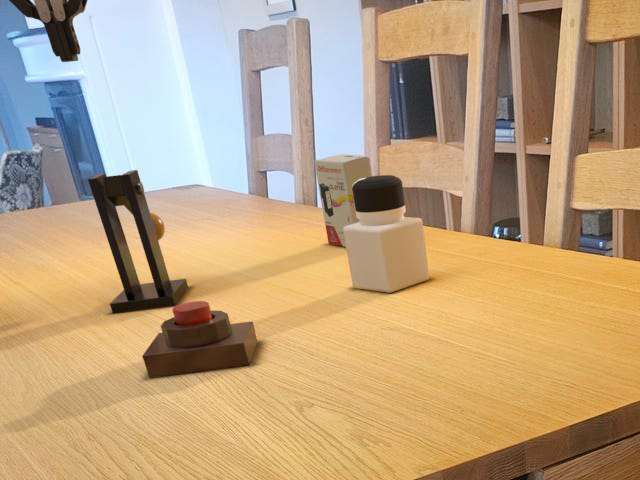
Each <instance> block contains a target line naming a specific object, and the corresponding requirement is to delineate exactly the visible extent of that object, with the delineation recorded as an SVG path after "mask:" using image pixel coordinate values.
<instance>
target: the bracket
mask: <svg viewBox="0 0 640 480" xmlns="http://www.w3.org/2000/svg"><path fill="white" fill-rule="evenodd" d="M120 175H121V177H122V180H123V183H124V187H125V190H126V193H127V196H128V200H129V203H130V206H131V209H132V213H133V215H132V216H133V219H134V222H135V225H136V229H137V232H138V235H139V239H140V241H141V245H142V249H143V252H144V255H145V258H146V262H147V265H148V267H149V272H150V274H151V277H152V281H153V282H146V283H140V280H139V276H138V273H137V270H136V267H135V264H134V261H133V258H132V254H131V250H130V248H129V245H128V241H127V238H126V235H125V231H124V229H123V226H122V223H121V219H120V216H119V213H118V211H117V206H115V205H114V204H113V203H112V202H111V201H110V200H109V199H108V198H107V196H106V191H105V185H104V180H103V177H107V176H106V173H100V174H95V175H94V176H91V177H90V178H88V179H87V181H88V185H89V187H90V190H91V194H92V198H93V199H94V202H95V206H96V208H97V211H98V215H99V218H100V221H101V224H102V227H103V230H104V233H105V236H106V239H107V243H108V245H109V249H110V251H111V254H112V257H113V261H114V263H115V266H116V270H117V273H118V275H119V279H120V282H121V284H122V288H123V290H122V291H121V292H120V293H118V295H117V296H116V297H115V298H114V299H113V300H111V302H110V303H109V306H110V309H111V312H112V314H118V313H119V314H120V313H126V312H135V311H136V312H137V311H143V310H151V309H160V308H168V307H175V306H177V304H178V302H179V301H180V300H181V298H182V297H183V295H185V293H186V292H187V290H188V288H189V284H188V281H187V278H178V279H171V280H170V276H169V273H168V269H167V266H166V263H165V259H164V256H163V253H162V249H161V245H160V243H159V240H158V239H157V235H156V232H155V228H154V225H153V222H152V218H151V215H150V213H151V212H150V209H149V205H148V201H147V198H146V195H145V188H144V185H143V183H142V181H141V177H140V175H139V172H138V170H137V169H133V170H128V171H126V172H125V173H122V174H120Z"/></svg>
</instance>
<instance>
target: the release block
mask: <svg viewBox="0 0 640 480" xmlns="http://www.w3.org/2000/svg"><path fill="white" fill-rule="evenodd" d="M210 310H211V309H210ZM211 314H212V317H213V319H212V320H210V321H208V322H205V323H201V324H196V325H189V326H177V324H176V321H175V317H174V316H173V317H170V318H168V319H166V320H164V321H163V322H162V323H161V325H160V330H161V332H158V333H157V335H155V337H154V339H153V340H152V342H151V343H150V344H149V346H148V347H147V348H146V350H145V351H144V353H142V355H141V356H142V360H143V362H144V366H145V369H146V372H147V375H148V378H150V379H151V378H157V377H165V376H173V375H181V374H191V373H196V372H204V371H213V370H220V369H228V368H236V367H243V366H249V365H250V364H251V361H252V359H253V356H254V353H255V350H256V347H257V344H258V338H257V337H258V336H257V333H256V330H255V325H254V321H251V320H250V321H244V322H235V323H231V321H230V317H229V313H227V312H225V311H223V310H211Z"/></svg>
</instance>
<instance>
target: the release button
mask: <svg viewBox="0 0 640 480" xmlns="http://www.w3.org/2000/svg"><path fill="white" fill-rule="evenodd" d="M171 311H172V314H173V317H175V321H176V324H177V326H189V325H196V324H201V323H205V322H208V321H210V320H212V319H213V317H212V314H211V307H210V303H209V302H208V301H205V300H195V301H189V302H184V303H180V304H176V305H175V306H173V307H172V310H171Z"/></svg>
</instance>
